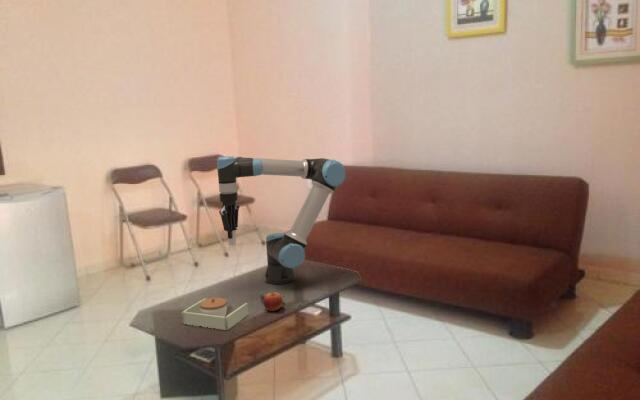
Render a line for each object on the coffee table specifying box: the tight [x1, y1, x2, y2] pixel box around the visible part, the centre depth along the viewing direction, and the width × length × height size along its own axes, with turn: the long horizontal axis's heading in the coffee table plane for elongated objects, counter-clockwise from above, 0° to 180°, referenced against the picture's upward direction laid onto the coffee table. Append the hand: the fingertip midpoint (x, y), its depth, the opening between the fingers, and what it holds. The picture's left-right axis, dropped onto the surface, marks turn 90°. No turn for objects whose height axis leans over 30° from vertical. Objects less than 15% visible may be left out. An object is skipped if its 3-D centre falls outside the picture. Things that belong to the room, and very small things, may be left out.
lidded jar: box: [200, 297, 228, 317], centre depth 214 cm, size 11×11×9 cm
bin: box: [180, 298, 249, 331], centre depth 215 cm, size 16×21×5 cm
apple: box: [262, 291, 284, 312], centre depth 223 cm, size 8×8×8 cm
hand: (232, 245), depth 235 cm, fingers closed
